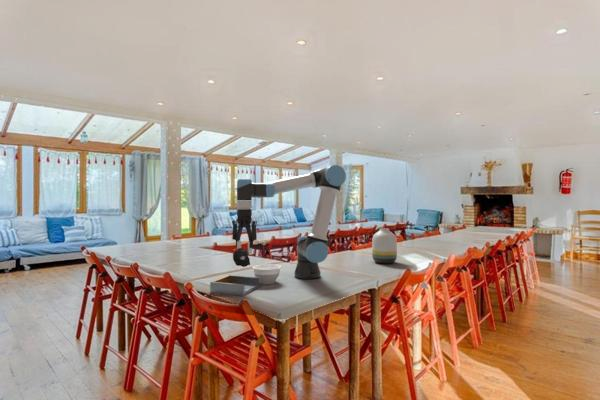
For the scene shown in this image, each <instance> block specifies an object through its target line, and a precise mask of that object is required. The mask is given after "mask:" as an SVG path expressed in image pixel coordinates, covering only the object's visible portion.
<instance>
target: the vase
mask: <svg viewBox="0 0 600 400" xmlns="http://www.w3.org/2000/svg"><path fill="white" fill-rule="evenodd" d="M397 239H398V238H397V237H396V235H395V234H394V233H393V232H391V231H390V228H388V227H387V228H385V227H384V228H383V227H382V228H379V230H378V231H377V232H375V233H374V234H373V236H372V240H371V241H372V242H371V243H372V244H371V249H372V251H371V253H372V254H371V255H372V259H373V261H374V262H375V263H377V264H386V265H387V264H393V263H395V262H396V261H397V256H398V255H397V254H398V240H397Z"/></svg>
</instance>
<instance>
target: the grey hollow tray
mask: <svg viewBox="0 0 600 400" xmlns="http://www.w3.org/2000/svg"><path fill="white" fill-rule="evenodd" d="M209 286H210V287H209V290H210V291H209V292H210V293H213V294H215V293H217V294H221V295H222V294H223V295H230V296H231V295H232V296H241V297H244V296H246V295H248V294H249V293H252V292H254V291H256V290H257V289H259V288H261V283H260V277H255V276H248V275H247V276H246V275H236V274H235V275H232V274H227V275H225V276H222V277H219V278H218V279H215V280H213V281H210V282H209Z"/></svg>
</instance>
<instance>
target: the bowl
mask: <svg viewBox="0 0 600 400" xmlns="http://www.w3.org/2000/svg"><path fill="white" fill-rule="evenodd" d="M251 268H252V269H253V273H254V277H260V285H269V284H270V285H271V284H274V283H276V281H277V279H278V277H279V275H280V272H281V270H280V269H282V265H280V264H276V263H275V264H272V263H264V264H256V265H253V266H252V267H251Z"/></svg>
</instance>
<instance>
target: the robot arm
mask: <svg viewBox="0 0 600 400" xmlns="http://www.w3.org/2000/svg"><path fill="white" fill-rule="evenodd" d="M346 179H347V174H346V171H345V170H344V168H343V167H342V166H340V165H339V164H329V165H328V166H323V167H322V168H319V169H316V170H313V171H310V172H309V173H307V174H302V175H298V176H291V177H287V178H283V179H282V178H281V179H277V180H273V181H268V182H252V179H251V178H239V179H237V181H236V217H237V218H236V219H235V220H232V221H231V224H232V237H231V238H232V240H234V241H235V247H236V250H237V249H239V248H242V240H241V237H242V234H243V233H242V232H243V230H244V228H245V230H246V234H247V238H248V241H247V253H248V256H249V255H252V254H253V248H254V242H255V241H256V240H257V239H258V238H257V223H258V222H257V220H253V218H252V216H253V215H252V214H253V211H252V208H253V207H252V202H253V201H252V200H253V199H252V198H257V199H261V198H268V199H269V198H274V197H275V195H279V194H283V193H289V192H292V191H293V192H294V191H297V190H301V189H302V190H303V189H307V188H313V189H315V188H319V189H320V193H319V198H318V202H317V206H316V210H315V214H314V218H313V223H312V227H311V230H310V233H308V234H307V236H298V237H297V241H296V245H297V246H296V247H297V254H296V255H297V261H296V266H295V270H294V277H295V278H296V279H306V280H307V279H308V280H309V279H318V278H320V277H321V270H320V266H319V263H322V262H324V261H326V259H327V257H328V255H329V248H328V244H329V243H328V242H329V238H328V237H327V234H328V231H329V225H330V222H331V218H332V215H333V214H332V213H333V209H334V206H335V205H334V204H335V201H336V197H337V194H338V193H340V191H341V187H342V185H343V184H344V183H345V181H346Z"/></svg>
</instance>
